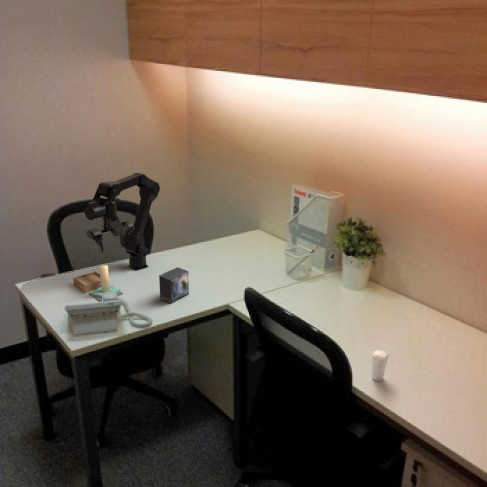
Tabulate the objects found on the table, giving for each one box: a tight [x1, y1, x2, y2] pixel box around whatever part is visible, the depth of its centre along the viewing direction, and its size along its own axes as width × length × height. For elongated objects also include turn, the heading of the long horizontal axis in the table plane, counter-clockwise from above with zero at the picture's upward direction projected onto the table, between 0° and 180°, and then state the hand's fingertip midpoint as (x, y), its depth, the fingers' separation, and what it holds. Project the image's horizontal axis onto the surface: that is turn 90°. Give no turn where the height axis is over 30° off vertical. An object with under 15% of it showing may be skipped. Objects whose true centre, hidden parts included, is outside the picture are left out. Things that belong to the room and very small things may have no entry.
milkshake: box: [371, 349, 390, 382], centre depth 162 cm, size 4×5×10 cm
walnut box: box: [72, 270, 101, 294], centre depth 222 cm, size 10×10×3 cm
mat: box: [88, 285, 124, 302], centre depth 215 cm, size 10×9×1 cm
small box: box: [158, 266, 190, 305], centre depth 212 cm, size 11×6×10 cm, turn 143°
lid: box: [90, 264, 121, 298], centre depth 213 cm, size 8×8×12 cm
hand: (112, 249), depth 225 cm, fingers open, 9 cm apart
